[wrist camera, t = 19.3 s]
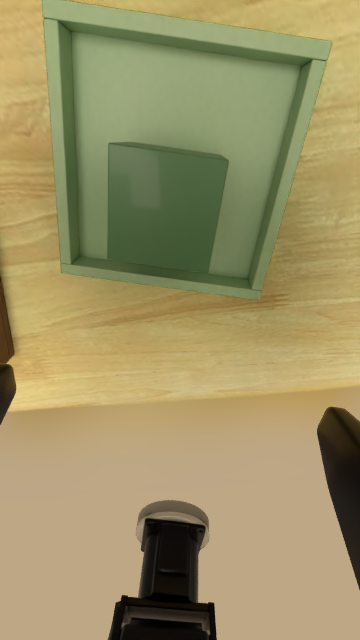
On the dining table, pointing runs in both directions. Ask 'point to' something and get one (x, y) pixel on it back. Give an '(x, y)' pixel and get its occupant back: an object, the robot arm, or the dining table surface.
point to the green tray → (176, 128)
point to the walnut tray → (4, 332)
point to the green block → (163, 205)
